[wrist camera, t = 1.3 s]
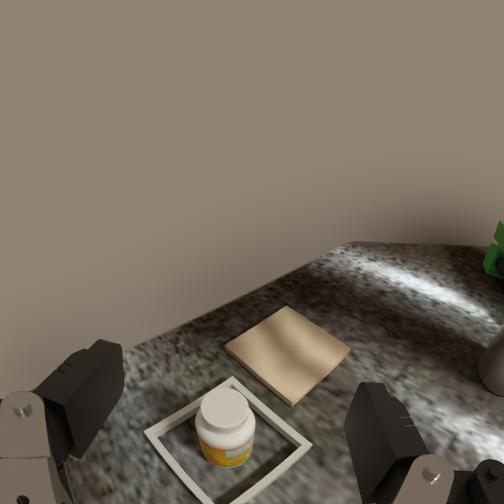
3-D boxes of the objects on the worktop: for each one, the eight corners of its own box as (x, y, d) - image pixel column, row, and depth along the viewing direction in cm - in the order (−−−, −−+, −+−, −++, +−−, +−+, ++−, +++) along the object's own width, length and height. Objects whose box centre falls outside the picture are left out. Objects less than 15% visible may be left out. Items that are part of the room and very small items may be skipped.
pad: (285, 310, 47) (286, 305, 47) (349, 353, 40) (350, 348, 40) (224, 349, 40) (224, 344, 40) (291, 407, 33) (292, 402, 32)
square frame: (232, 382, 36) (232, 376, 35) (309, 448, 28) (312, 444, 27) (146, 436, 28) (143, 431, 28) (220, 521, 21) (219, 519, 20)
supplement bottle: (193, 436, 29) (181, 393, 24) (237, 419, 31) (238, 372, 26) (215, 476, 25) (208, 445, 20) (261, 456, 28) (269, 418, 22)
